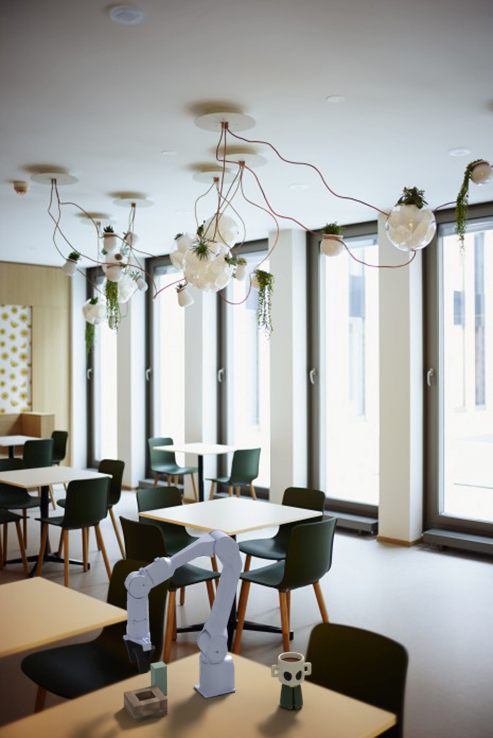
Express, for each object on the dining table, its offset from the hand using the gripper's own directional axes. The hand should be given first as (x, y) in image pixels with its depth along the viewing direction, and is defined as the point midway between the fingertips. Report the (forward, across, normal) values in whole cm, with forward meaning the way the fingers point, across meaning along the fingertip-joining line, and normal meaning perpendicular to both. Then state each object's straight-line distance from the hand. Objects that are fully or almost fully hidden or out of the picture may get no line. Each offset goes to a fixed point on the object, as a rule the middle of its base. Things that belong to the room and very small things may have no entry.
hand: (139, 667), depth 196 cm
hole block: (+10, +5, 0) cm, 11 cm away
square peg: (+10, -2, +6) cm, 12 cm away
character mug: (+10, +21, +35) cm, 42 cm away
